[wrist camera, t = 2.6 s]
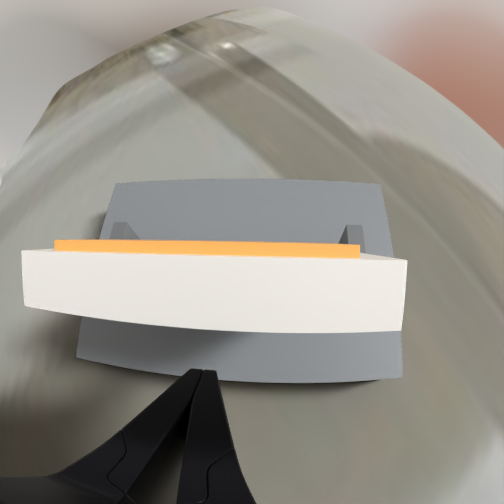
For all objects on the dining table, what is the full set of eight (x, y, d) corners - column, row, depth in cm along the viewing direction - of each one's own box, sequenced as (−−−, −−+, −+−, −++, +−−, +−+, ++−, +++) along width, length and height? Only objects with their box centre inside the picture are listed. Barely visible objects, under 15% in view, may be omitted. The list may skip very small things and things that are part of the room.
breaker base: (381, 379, 16) (427, 373, 11) (102, 363, 17) (46, 349, 12) (367, 210, 21) (392, 156, 16) (132, 207, 22) (99, 158, 17)
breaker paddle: (331, 279, 15) (401, 330, 6) (141, 274, 16) (24, 305, 7) (332, 242, 15) (407, 246, 6) (142, 239, 16) (21, 240, 7)
